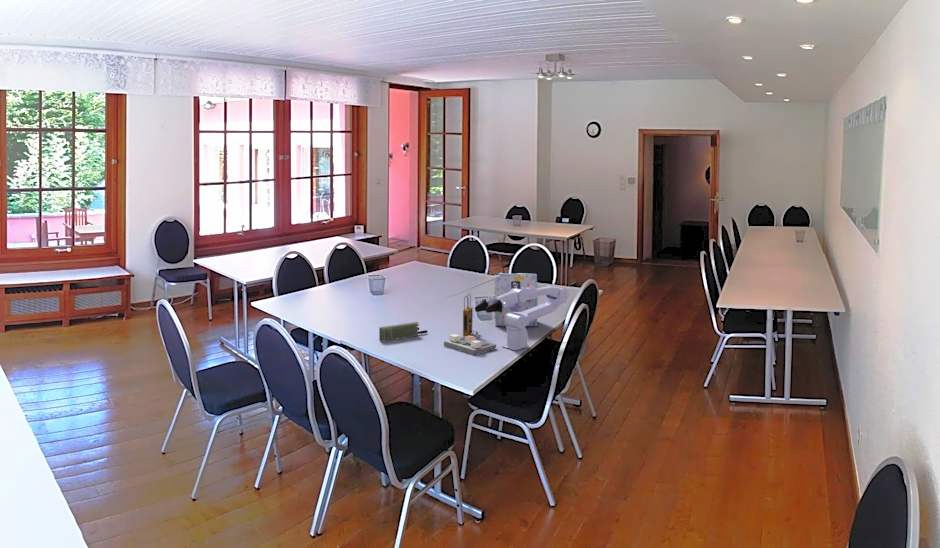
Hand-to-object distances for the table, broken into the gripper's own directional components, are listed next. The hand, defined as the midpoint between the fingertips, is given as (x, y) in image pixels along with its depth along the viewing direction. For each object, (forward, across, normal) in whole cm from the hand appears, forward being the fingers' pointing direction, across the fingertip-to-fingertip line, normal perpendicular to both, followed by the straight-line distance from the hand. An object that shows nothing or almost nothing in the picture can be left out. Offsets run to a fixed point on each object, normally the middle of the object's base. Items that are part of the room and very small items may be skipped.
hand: (480, 310), depth 330 cm
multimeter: (-16, -30, +19) cm, 39 cm away
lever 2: (+1, -8, +17) cm, 19 cm away
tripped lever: (-1, -15, +17) cm, 23 cm away
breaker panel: (-1, -16, +19) cm, 25 cm away
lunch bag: (-45, -34, +23) cm, 61 cm away
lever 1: (+2, -22, +15) cm, 27 cm away
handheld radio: (+13, -48, +12) cm, 51 cm away
